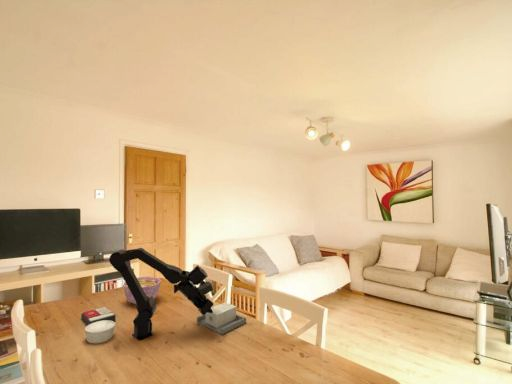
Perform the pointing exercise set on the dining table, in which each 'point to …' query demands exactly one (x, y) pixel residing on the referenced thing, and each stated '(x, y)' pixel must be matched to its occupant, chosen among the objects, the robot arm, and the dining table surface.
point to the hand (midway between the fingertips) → (211, 312)
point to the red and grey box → (97, 315)
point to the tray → (225, 327)
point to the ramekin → (99, 331)
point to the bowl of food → (144, 288)
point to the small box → (221, 315)
